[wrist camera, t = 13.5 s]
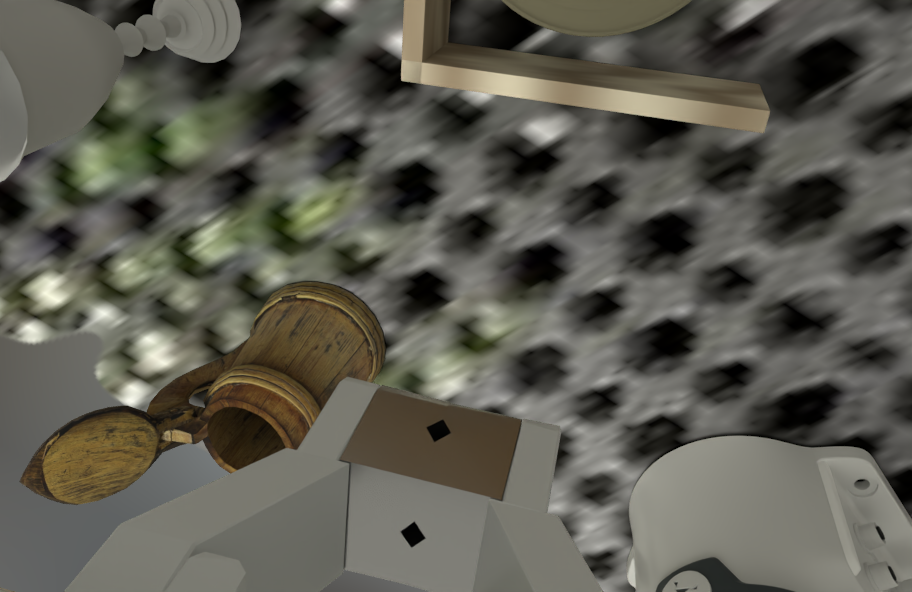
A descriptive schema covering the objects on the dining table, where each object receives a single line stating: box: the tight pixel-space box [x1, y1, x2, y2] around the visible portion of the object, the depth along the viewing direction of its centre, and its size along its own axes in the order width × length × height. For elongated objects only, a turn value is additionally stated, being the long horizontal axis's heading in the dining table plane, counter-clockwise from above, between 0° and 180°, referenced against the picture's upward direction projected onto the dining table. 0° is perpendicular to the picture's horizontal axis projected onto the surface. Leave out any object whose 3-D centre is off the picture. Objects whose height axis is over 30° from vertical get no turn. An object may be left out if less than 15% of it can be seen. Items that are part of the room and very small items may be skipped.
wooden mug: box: [20, 282, 385, 505], centre depth 45 cm, size 9×14×18 cm, turn 82°
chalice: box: [0, 0, 241, 181], centre depth 36 cm, size 7×7×18 cm
